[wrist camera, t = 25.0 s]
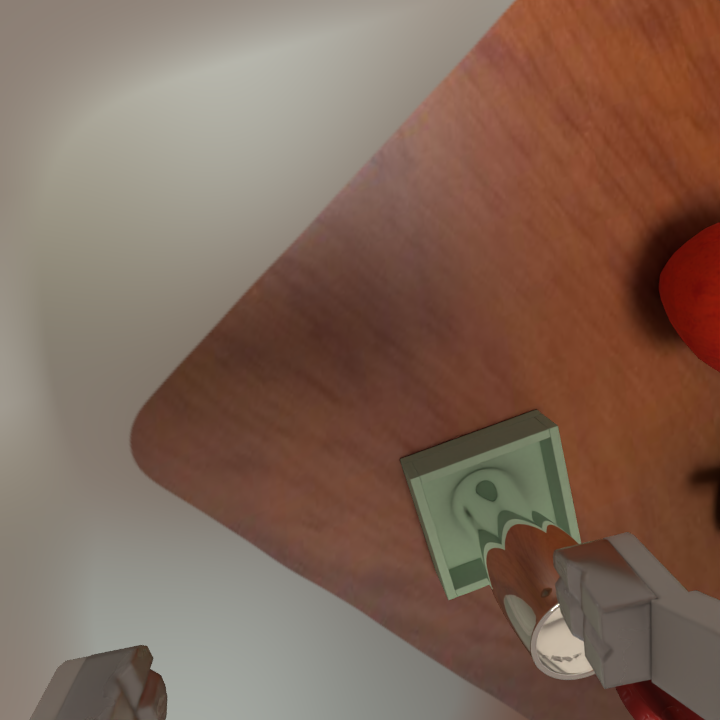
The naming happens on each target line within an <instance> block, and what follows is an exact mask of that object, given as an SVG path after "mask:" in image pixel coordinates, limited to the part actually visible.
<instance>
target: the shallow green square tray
mask: <svg viewBox="0 0 720 720" xmlns="http://www.w3.org/2000/svg"><path fill="white" fill-rule="evenodd" d="M400 461H401V465H402V468H403V471H404V474H405V477H406V480H407V483H408V486H409V489H410V492H411V496H412V499H413V502H414V505H415V508H416V511H417V514H418V517H419V520H420V523H421V527H422V530H423V533H424V536H425V539H426V542H427V545H428V548H429V551H430V554H431V558H432V561H433V564H434V567H435V570H436V573H437V575H438V578H439V580H440V582H441V584H442V587H443V589H444V591H445V593H446V596H447V598H448V600H451V599H453V598H456V597H458V596H461V595H464V594H466V593H469V592H471V591H474V590H477V589H479V588H482V587H484V586H487V585H490V584H489V582H488V579H487V576H486V573H485V570H484V567H483V564H482V561H481V557H480V554H479V551H478V548H477V545H476V543H475V541H474V539H473V537H472V536H471V535H470V534H469V532H468V531H467V530H466V529H464V528H463V527H462V525H461V524H460V523H459V522H458V521H457V519H456V518H455V516H454V514H453V510H452V497H453V494H454V491H455V489H456V487H457V486H458V484H459V483H460V482H461V481H462V480H463V479H464V478H465V477H466V476H468V475H469V474H471V473H473V472H475V471H477V470H480V469H485V468H496V469H500V470H503V471H505V472H506V473H508V474H509V475H511V476H512V477H513V479H514V480H515V481H516V483H517V485H518V487H519V489H520V491H521V493H522V495H523V497H524V498H525V500H526V501H527V502H528V503H529V504H530V505H531V506H532V507H533V508H534V509H536V510H537V511H538V512H540V513H541V514H542V515H544V516H545V517H547V518H548V519H549V520H551V521H552V522H553V523H555V524H556V525H557V526H559V527H560V528H561V529H563V530H564V531H565V532H566V533H567V534H568V535H570V536H571V537H572V538H573V539H574V540H575V541H576V542H577V543H578V544H581V540H580V535H579V530H578V525H577V520H576V515H575V510H574V505H573V500H572V495H571V490H570V485H569V480H568V475H567V470H566V464H565V459H564V454H563V449H562V444H561V439H560V434H559V429H558V426H557V425H556V424H555V423H554V422H552V421H551V420H550V419H548V418H547V417H546V416H544V415H543V414H542V413H541V412H539V411H538V410H534V411H531V412H528V413H526V414H523V415H520V416H517V417H515V418H512V419H509V420H506V421H504V422H501V423H498V424H495V425H493V426H490V427H487V428H484V429H482V430H479V431H476V432H473V433H471V434H468V435H465V436H462V437H460V438H457V439H454V440H451V441H449V442H446V443H443V444H440V445H438V446H435V447H432V448H429V449H427V450H424V451H421V452H418V453H416V454H413V455H410V456H407V457H405V458H402V459H400Z"/></svg>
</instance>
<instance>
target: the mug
mask: <svg viewBox="0 0 720 720" xmlns="http://www.w3.org/2000/svg"><path fill="white" fill-rule="evenodd" d="M616 690H617V692H618V694H619V696H620V698H621V700H622V702H623V703H624V705H625V707H626V708H627V710H628V711H629V713H630V714H631V715H632V716H633V718H634V719H635V720H705V719H703V718H702V717H700V716H699V715H698V714H696V713H695V712H693V711H692V710H691V709H689V708H688V707H686V706H685V705H683V704H682V703H681V702H679V701H678V700H676V699H675V698H674V697H672V696H671V695H669V694H668V693H667V692H665V691H664V690H662V689H661V688H660V687H658V686H657V685H655V684H654V683H652V679H651V680H646V681H641V682H636V683H631V684H626V685H621V686H616Z"/></svg>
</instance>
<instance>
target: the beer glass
mask: <svg viewBox="0 0 720 720" xmlns="http://www.w3.org/2000/svg"><path fill="white" fill-rule="evenodd" d="M452 510H453V514H454V516H455V518H456V519H457V521H458V522H459V523H460V524H461V525H462V527H463V528H464V529H466V530H467V531H468V532H469V534H470V535H471V536H472V537H473V539H474V541H475V543H476V545H477V548H478V551H479V554H480V557H481V561H482V564H483V567H484V570H485V573H486V576H487V579H488V582H489V584H490V587H491V590H492V592H493V595H494V597H495V599H496V601H497V603H498V605H499V607H500V609H501V611H502V612H503V614H504V616H505V617H506V619H507V621H508V622H509V624H510V626H511V627H512V629H513V630H514V632H515V633H516V635H517V636H518V638H519V639H520V641H521V642H522V644H523V645H524V647H525V648H526V649H527V651H528V652H529V654H530V655H531V657H532V658H533V660H534V662H535V664H536V665H537V667H538V668H539V669H540V670H541V671H542V672H544V673H545V674H547V675H549V676H551V677H553V678H557V679H562V680H574V679H580V678H584V677H588V676H591V675H593V674H595V672H594V670H593V669H592V667H591V665H590V664H589V662H588V660H587V659H586V657H585V650H584V642H583V641H581V640H580V639H578V638H576V637H575V636H573V635H572V633H571V631H570V630H569V628H568V626H567V624H566V622H565V620H564V618H563V616H562V614H561V611H560V607H559V604H558V601H557V596H556V588H555V584H556V582H557V580H558V579H559V577H560V576H559V574H558V573H557V571H556V569H555V568H554V566H553V553H554V550H557V549H561V548H565V547H569V546H573V545H578V543H577V542H576V541H575V540H574V539H573V538H572V537H571V536H570V535H568V534H567V533H566V532H565V531H564V530H563V529H561V528H560V527H559V526H557V525H556V524H555V523H553V522H552V521H551V520H549V519H548V518H547V517H545V516H544V515H542V514H541V513H540V512H538V511H537V510H536V509H534V508H533V507H532V506H531V505H530V504H529V503H528V502H527V501H526V500H525V498H524V497H523V495H522V493H521V491H520V489H519V487H518V485H517V483H516V481H515V480H514V479H513V477H512V476H511V475H509V474H508V473H506V472H505V471H503V470H500V469H496V468H485V469H480V470H477V471H475V472H473V473H471V474H469V475H468V476H466V477H465V478H464V479H463V480H462V481H461V482H460V483H459V484H458V486H457V487H456V489H455V491H454V494H453V497H452Z"/></svg>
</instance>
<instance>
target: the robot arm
mask: <svg viewBox="0 0 720 720" xmlns="http://www.w3.org/2000/svg"><path fill="white" fill-rule="evenodd" d="M553 566H554V568H555V569H556V571H557V573H558V574H559V576H560V577H559V579H558V580H557V582H556V584H555V588H556V596H557V601H558V604H559V607H560V611H561V614H562V616H563V618H564V620H565V622H566V624H567V626H568V628H569V630H570V631H571V633H572V635H573V636H575V637H576V638H578V639H580V640H581V641H583V642H584V650H585V657H586V659H587V660H588V662H589V664H590V665H591V667H592V669H593V670H594V672H595V673H596V675H597V677H598V678H599V680H600V682H601V683H602V685H603V687H604V688H605V689H606V688H611V687H616V686H621V685H626V684H631V683H636V682H641V681H646V680H651V679H652V683H654V684H655V685H657V686H658V687H660V688H661V689H662V690H664V691H665V692H667V693H668V694H669V695H671V696H672V697H674V698H675V699H676V700H678V701H679V702H681V703H682V704H683V705H685V706H686V707H688V708H689V709H691V710H692V711H693V712H695V713H696V714H698V715H699V716H700V717H702V718H703V719H705V720H720V600H718V599H715V598H713V597H711V596H708V595H706V594H704V593H701V592H699V591H697V590H696V591H691V592H688V591H687V590H686V589H685V588H684V587H683V586H682V585H681V584H680V583H679V582H678V581H677V580H676V578H675V577H674V576H673V575H672V574H671V573H670V572H669V571H668V570H667V569H666V568H665V567H664V566H663V565H662V564H661V563H660V562H659V561H658V560H657V559H656V558H655V557H654V556H653V555H652V554H651V552H650V551H649V550H648V549H647V548H646V547H645V546H644V545H643V544H642V543H641V542H640V541H639V540H638V539H637V538H636V537H635V536H634V535H633V534H631V533H629V532H626V533H622V534H618V535H614V536H610V537H606V538H603V539H598V540H594V541H590V542H586V543H582V544H578V545H573V546H569V547H565V548H561V549H557V550H554V553H553ZM152 661H153V657H152V655H151V653H150V651H149V649H148V647H147V646H144V645H139V646H134V647H129V648H124V649H119V650H114V651H109V652H105V653H99V654H94V655H91V656H88V657H83V658H78V659H73V660H67V661H65V662H64V663H63V664H62V665H60V666H59V667H58V668H57V670H56V672H55V674H54V676H53V677H52V679H51V681H50V683H49V685H48V687H47V689H46V690H45V692H44V694H43V696H42V698H41V700H40V701H39V703H38V705H37V707H36V709H35V711H34V713H33V714H32V716H31V718H30V720H165V719H166V714H167V693H166V687H165V684H164V681H163V679H162V676H161V675H160V674H158V673H156V672H154V671H153V670H151V669H150V667H151V664H152Z"/></svg>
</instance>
